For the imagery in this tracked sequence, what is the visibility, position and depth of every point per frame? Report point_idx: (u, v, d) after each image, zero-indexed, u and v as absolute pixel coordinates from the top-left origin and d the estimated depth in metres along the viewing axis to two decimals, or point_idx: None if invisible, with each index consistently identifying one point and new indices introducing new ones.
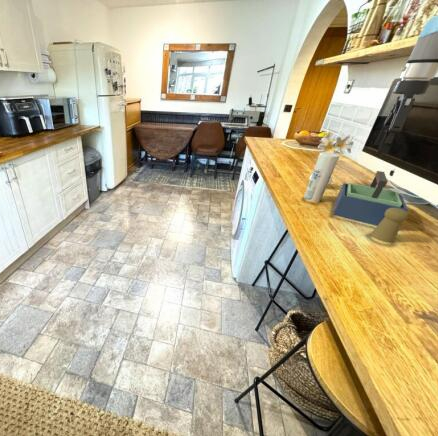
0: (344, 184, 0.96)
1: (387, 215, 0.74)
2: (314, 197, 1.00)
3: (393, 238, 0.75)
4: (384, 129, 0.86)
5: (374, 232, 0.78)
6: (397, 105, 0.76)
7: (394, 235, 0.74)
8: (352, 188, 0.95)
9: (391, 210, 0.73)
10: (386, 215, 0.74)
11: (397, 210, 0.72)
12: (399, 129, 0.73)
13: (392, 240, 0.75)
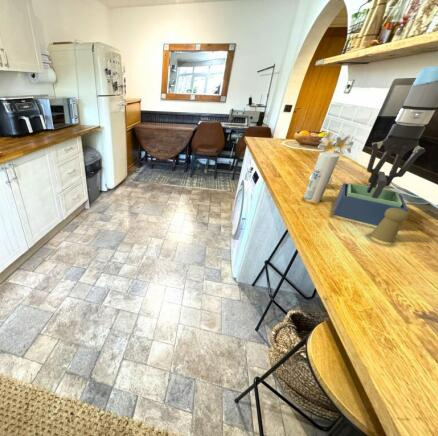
0: (344, 184, 0.96)
1: (387, 215, 0.74)
2: (314, 197, 1.00)
3: (393, 238, 0.75)
4: (377, 177, 0.84)
5: (374, 232, 0.78)
6: None
7: (394, 235, 0.74)
8: (352, 188, 0.95)
9: (391, 210, 0.73)
10: (386, 215, 0.74)
11: (397, 210, 0.72)
12: None
13: (392, 240, 0.75)
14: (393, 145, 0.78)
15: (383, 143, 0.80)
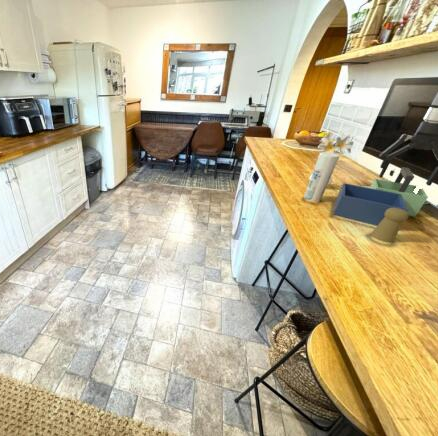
0: (344, 184, 0.96)
1: (387, 215, 0.74)
2: (314, 197, 1.00)
3: (393, 238, 0.75)
4: None
5: (374, 232, 0.78)
6: None
7: (394, 235, 0.74)
8: (377, 183, 1.02)
9: (391, 210, 0.73)
10: (386, 215, 0.74)
11: (397, 210, 0.72)
12: None
13: (392, 240, 0.75)
14: (421, 141, 0.84)
15: (411, 138, 0.86)
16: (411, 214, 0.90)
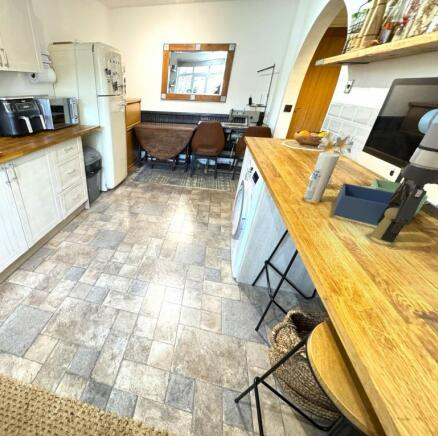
0: (344, 184, 0.96)
1: (387, 215, 0.74)
2: (314, 197, 1.00)
3: None
4: None
5: (374, 232, 0.78)
6: None
7: None
8: (377, 183, 1.02)
9: (391, 210, 0.73)
10: (386, 215, 0.74)
11: (397, 210, 0.72)
12: None
13: None
14: None
15: None
16: None
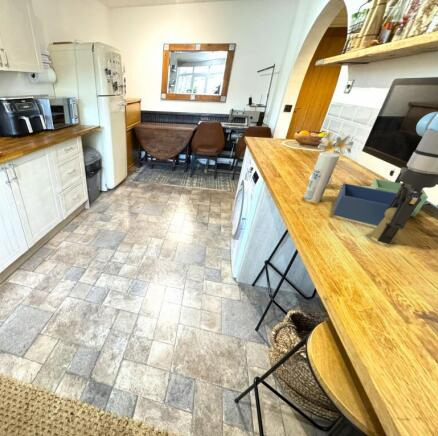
0: (344, 184, 0.96)
1: (387, 215, 0.74)
2: (314, 197, 1.00)
3: (393, 238, 0.75)
4: None
5: (374, 232, 0.78)
6: None
7: None
8: (377, 183, 1.02)
9: (391, 210, 0.73)
10: (386, 215, 0.74)
11: None
12: None
13: (392, 240, 0.75)
14: None
15: (417, 196, 0.66)
16: (411, 214, 0.90)
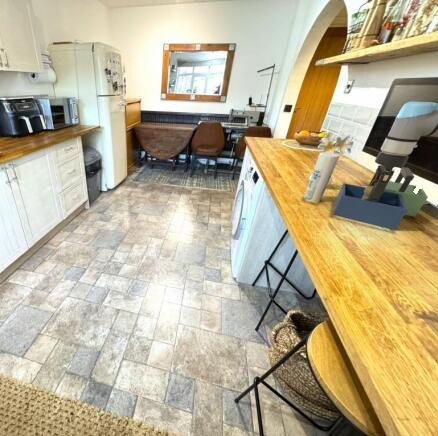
0: (344, 184, 0.96)
1: (366, 192, 0.87)
2: (314, 197, 1.00)
3: None
4: None
5: None
6: None
7: None
8: None
9: (369, 187, 0.86)
10: (365, 192, 0.87)
11: None
12: None
13: None
14: None
15: None
16: (411, 214, 0.90)
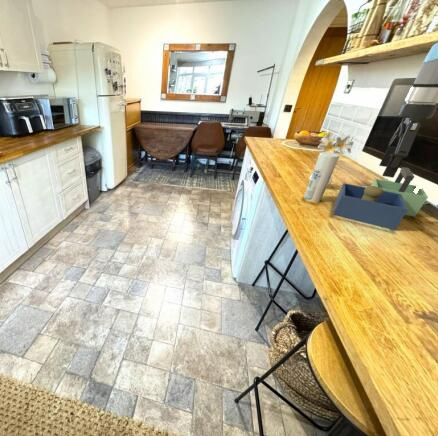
0: (344, 184, 0.96)
1: (366, 192, 0.87)
2: (314, 197, 1.00)
3: None
4: None
5: None
6: None
7: None
8: (377, 183, 1.02)
9: (369, 187, 0.86)
10: (365, 192, 0.87)
11: (374, 187, 0.86)
12: None
13: None
14: None
15: None
16: (411, 214, 0.90)
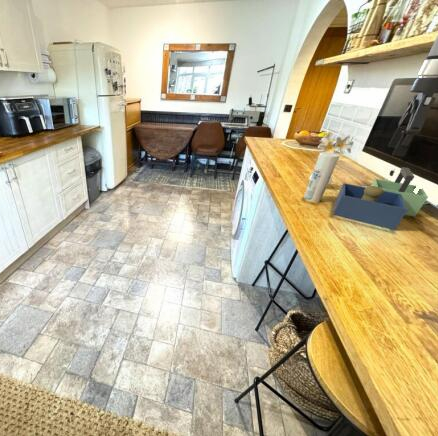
0: (344, 184, 0.96)
1: (366, 192, 0.87)
2: (314, 197, 1.00)
3: None
4: None
5: None
6: None
7: None
8: (377, 183, 1.02)
9: (369, 187, 0.86)
10: (365, 192, 0.87)
11: (374, 187, 0.86)
12: None
13: None
14: None
15: None
16: (411, 214, 0.90)
